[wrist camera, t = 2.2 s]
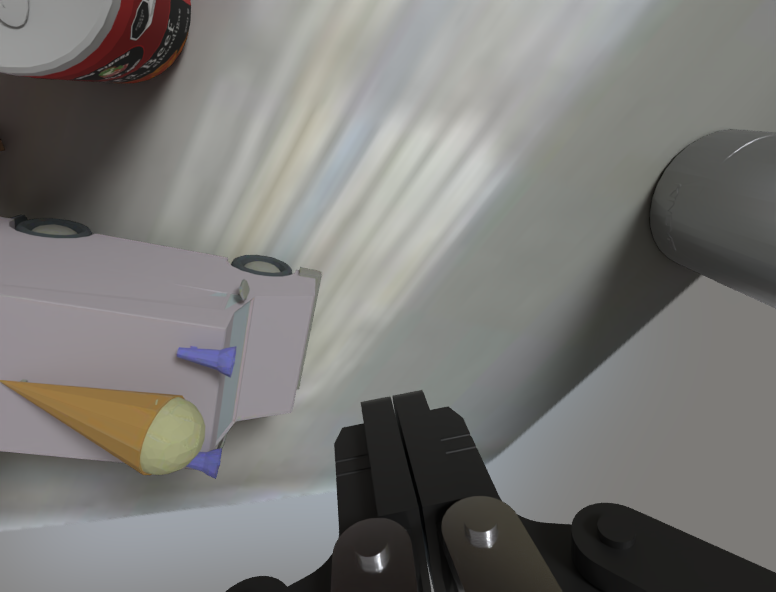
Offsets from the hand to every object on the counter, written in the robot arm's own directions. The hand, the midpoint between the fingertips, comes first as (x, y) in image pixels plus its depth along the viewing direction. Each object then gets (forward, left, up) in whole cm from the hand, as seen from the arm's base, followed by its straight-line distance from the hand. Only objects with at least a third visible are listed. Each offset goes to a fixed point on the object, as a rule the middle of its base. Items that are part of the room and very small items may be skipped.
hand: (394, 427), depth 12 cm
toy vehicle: (+12, +2, -21) cm, 24 cm away
